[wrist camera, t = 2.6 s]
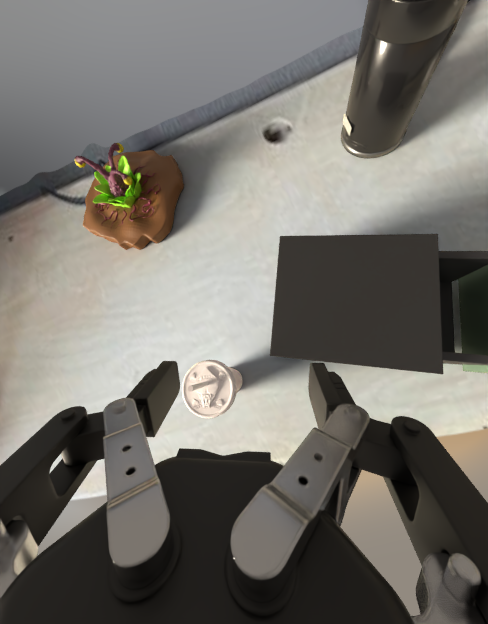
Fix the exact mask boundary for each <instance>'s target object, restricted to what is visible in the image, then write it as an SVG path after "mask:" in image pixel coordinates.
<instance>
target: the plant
mask: <svg viewBox="0 0 488 624" xmlns="http://www.w3.org/2000/svg"><path fill="white" fill-rule="evenodd" d="M114 150H115V151H117V152H119V153H121V152H123V150H124V148H123V146H122V145H121V144H119V143H114V144H113V145H112V146H111V147H110V150H109V153H108V155H109V157H108V158H109V162H108V163H107V164H106V165H104V166H103V167H101V166H99V165H98V164H96V163H94V162H93V161H90V160H89V159H86V158H85V157H82V156H76V157H75V163H76V164H77V165H78V166H79V167H84V166H85V164H86V163H87V164H89V165H91V166H92V167H93V168H94V169H96V170H97V171H96V172H95V173H94V174H95V179H94V181H93V183H92V185H91V188H90V190H89V192H88V194H87V196H86V199H85V202H86V211H85V215H84V221H83V226H84V227H85V228H86V229H88V230H89V231H90V232H92V233H93V234H95V235H97V236H100V237H104V238H105V239H107V240H108V241H111V242H115V243H118V244H119V245H120V246H121V247H123V248H124V249H126V250H127V249H129V248H131V247H134V248H137V249H139V250H140V249H143V248H144V247H145V246H146V245H147V244H148V243H149V242H150V241H153V242H155V243H159V242H161V241H162V240H163V239H164V238H165V237H166V236H167V235H168V234H169V232H170V231H171V229H172V225H173V220H174V211H175V207H176V204H177V201H178V198H179V195H180V193H181V191H182V190H183V188H184V184H183V177H182V173H181V171H180V170H179V168H178V164H177V162H176V161H175V159H174V158H173V156H172V155H170V156H161V155H159V154H157V153H156V152H155V151H154V150H147V151H141V152H126V153H122V154H119V155H116V156H113V152H114Z"/></svg>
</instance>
